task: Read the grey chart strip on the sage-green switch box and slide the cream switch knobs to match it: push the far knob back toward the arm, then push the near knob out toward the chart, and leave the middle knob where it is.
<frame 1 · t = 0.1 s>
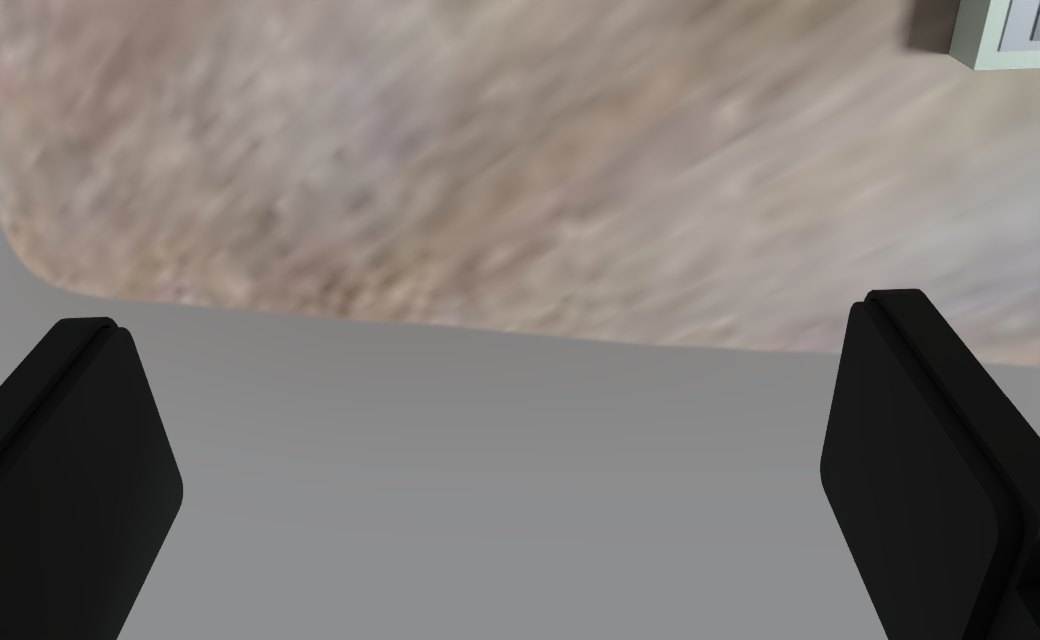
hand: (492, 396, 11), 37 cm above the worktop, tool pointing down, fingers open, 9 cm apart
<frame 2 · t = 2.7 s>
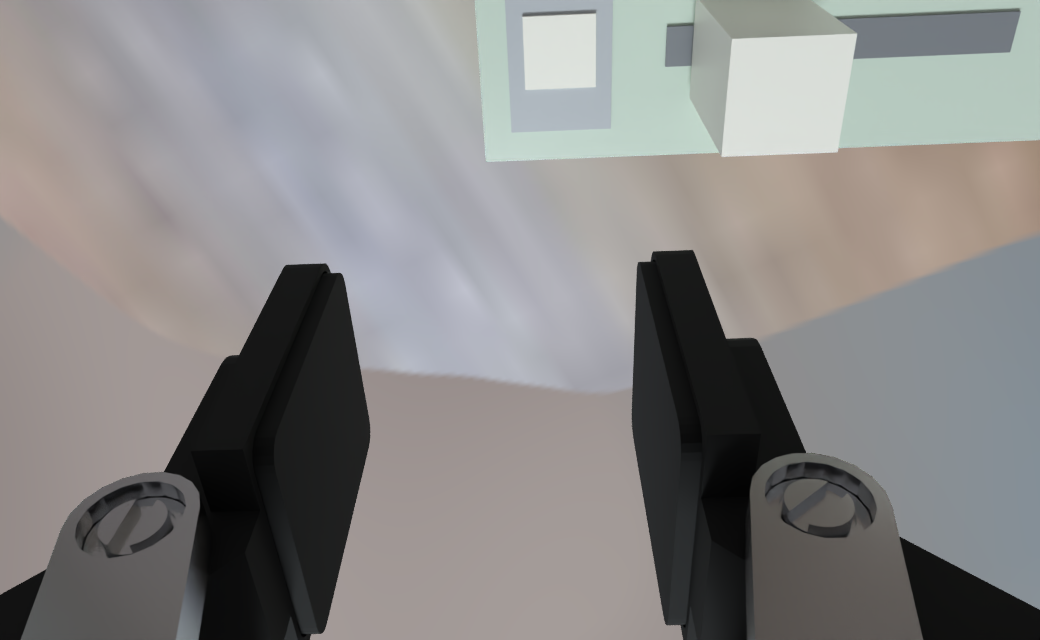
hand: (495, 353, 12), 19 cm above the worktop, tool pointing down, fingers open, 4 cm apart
switch c: (762, 69, 23), point 6 cm above the worktop, slide at 6.0 cm
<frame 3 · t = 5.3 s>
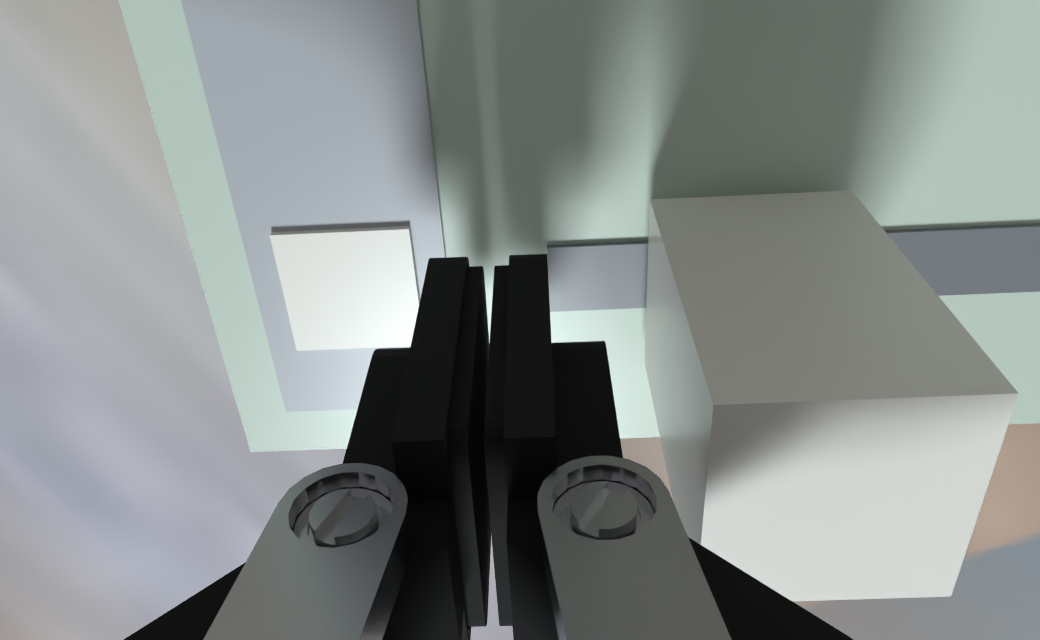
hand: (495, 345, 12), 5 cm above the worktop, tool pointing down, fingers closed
switch c: (782, 373, 11), point 6 cm above the worktop, slide at 5.2 cm, touching gripper
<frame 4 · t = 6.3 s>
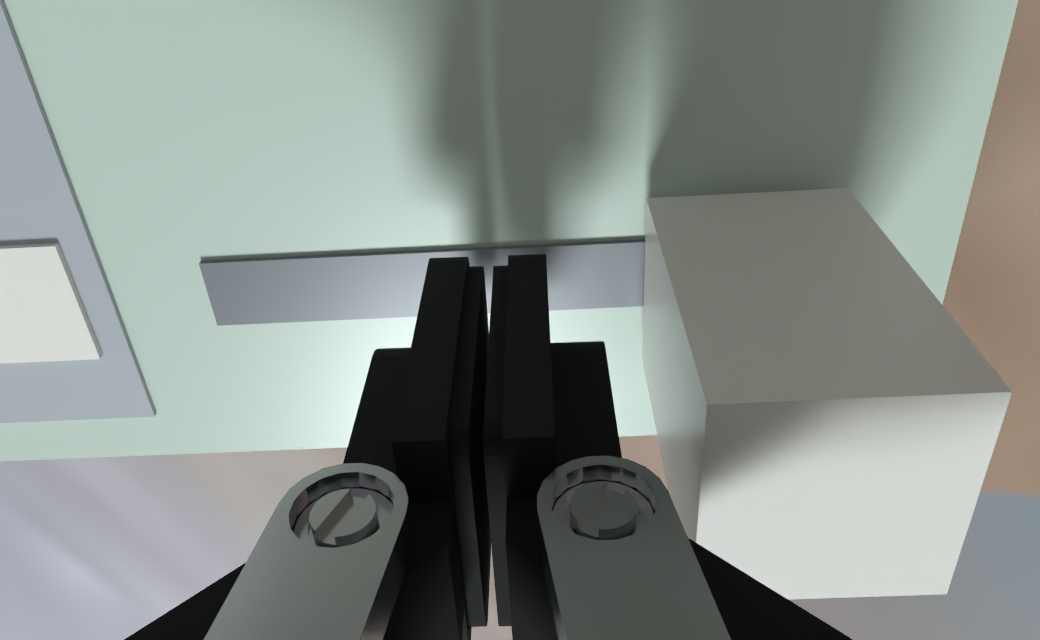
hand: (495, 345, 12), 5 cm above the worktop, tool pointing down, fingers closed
switch c: (778, 372, 11), point 6 cm above the worktop, slide at -0.4 cm, touching gripper
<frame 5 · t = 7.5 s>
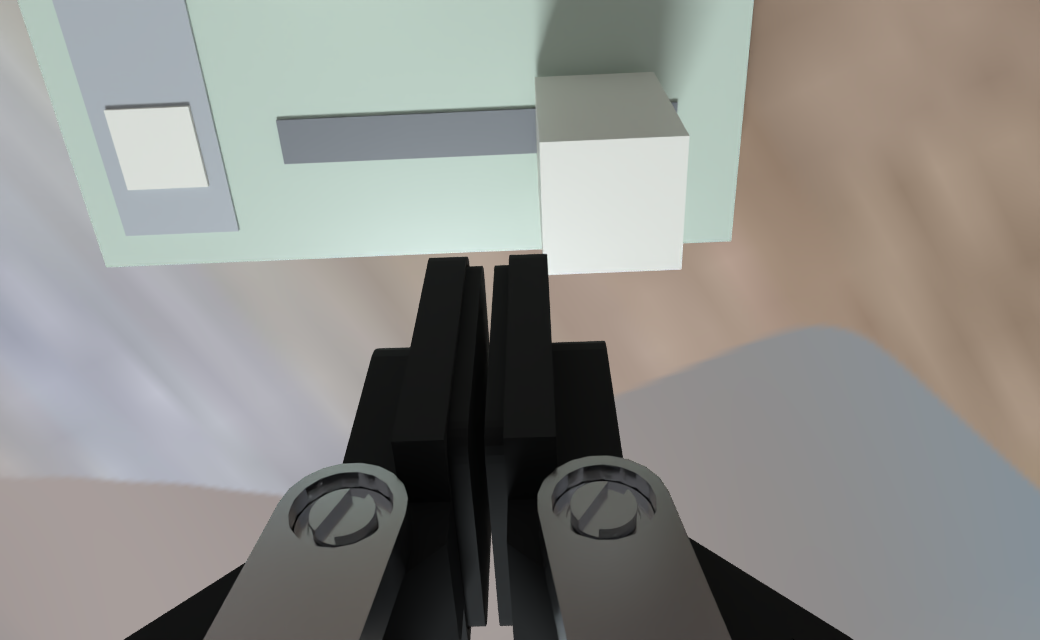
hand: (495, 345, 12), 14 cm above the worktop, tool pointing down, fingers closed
switch c: (602, 166, 20), point 6 cm above the worktop, slide at -0.1 cm
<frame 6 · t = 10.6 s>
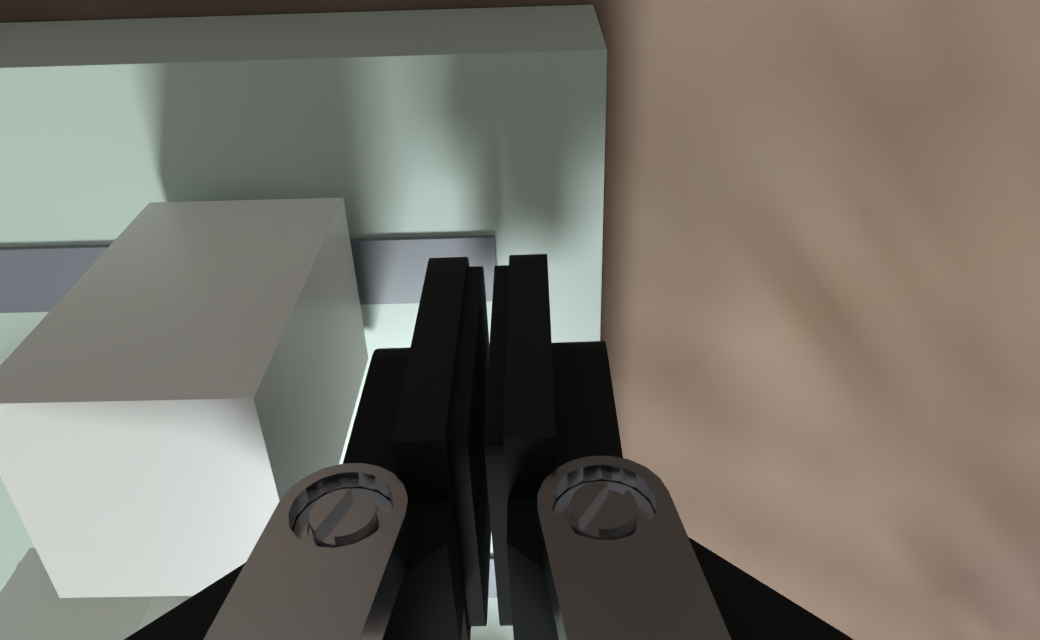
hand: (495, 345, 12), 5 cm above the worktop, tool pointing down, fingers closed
switch a: (217, 375, 12), point 6 cm above the worktop, slide at 1.5 cm, touching gripper
switch box: (219, 483, 21), on the worktop
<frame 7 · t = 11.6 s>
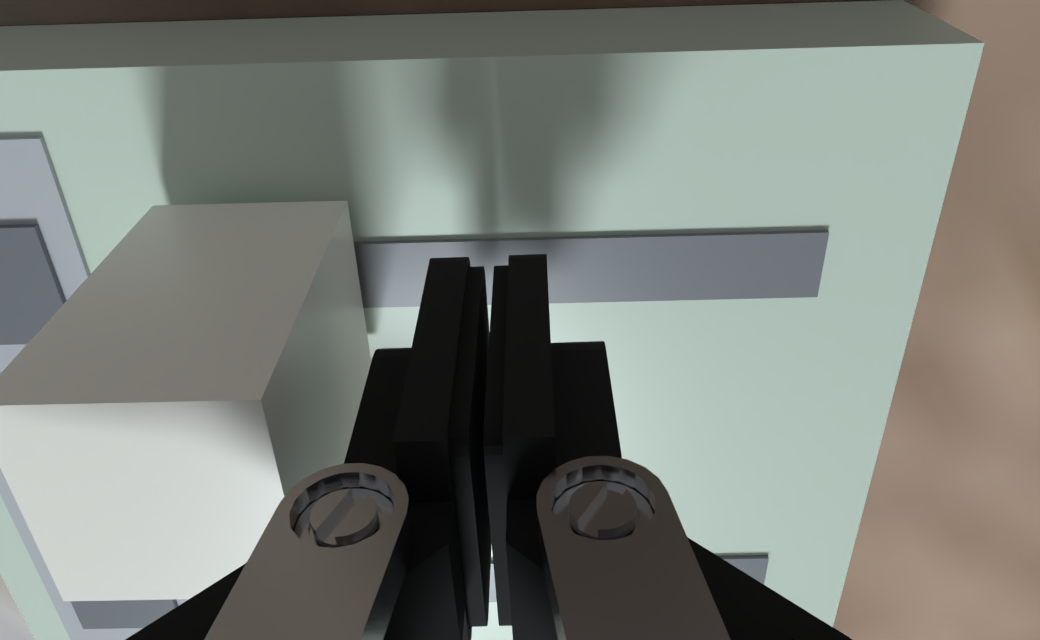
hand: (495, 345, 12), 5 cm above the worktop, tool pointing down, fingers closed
switch a: (221, 378, 11), point 6 cm above the worktop, slide at 6.8 cm, touching gripper
switch box: (436, 483, 20), on the worktop
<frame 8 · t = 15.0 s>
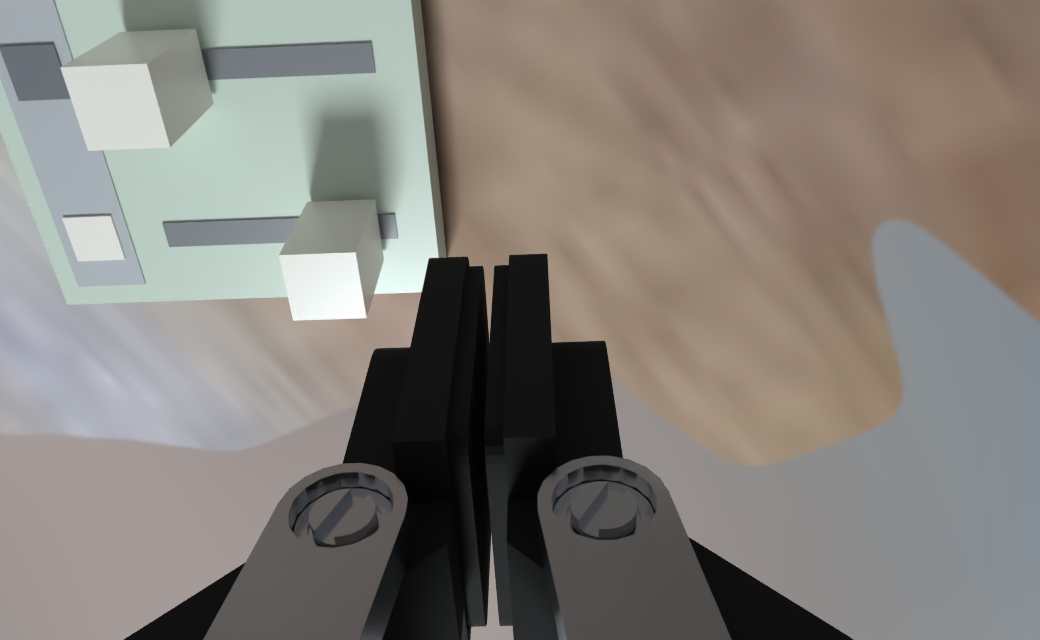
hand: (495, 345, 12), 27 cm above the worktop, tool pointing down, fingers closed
switch c: (335, 257, 35), point 6 cm above the worktop, slide at -0.1 cm
switch b: (144, 87, 31), point 6 cm above the worktop, slide at 6.0 cm
switch box: (218, 46, 36), on the worktop
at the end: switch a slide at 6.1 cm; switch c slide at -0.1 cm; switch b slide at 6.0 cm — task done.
